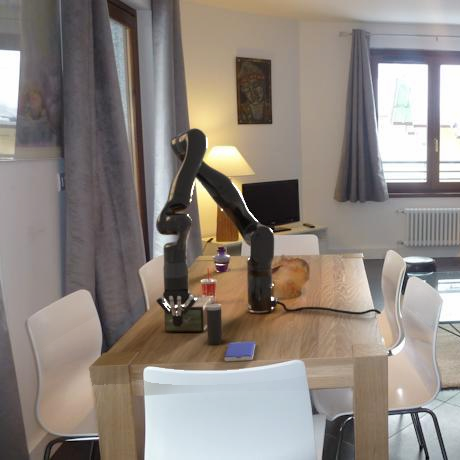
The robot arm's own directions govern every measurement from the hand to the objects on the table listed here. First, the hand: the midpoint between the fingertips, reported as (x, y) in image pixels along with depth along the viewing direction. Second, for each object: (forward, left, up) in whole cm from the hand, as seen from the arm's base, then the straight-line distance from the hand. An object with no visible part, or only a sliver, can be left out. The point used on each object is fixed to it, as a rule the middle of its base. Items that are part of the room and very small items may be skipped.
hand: (178, 325), depth 206 cm
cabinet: (0, -14, -5) cm, 15 cm away
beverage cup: (+1, -43, -5) cm, 44 cm away
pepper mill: (-13, +4, -5) cm, 14 cm away
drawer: (0, -10, -4) cm, 11 cm away
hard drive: (-23, +14, -5) cm, 27 cm away
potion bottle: (+9, -98, -5) cm, 99 cm away
